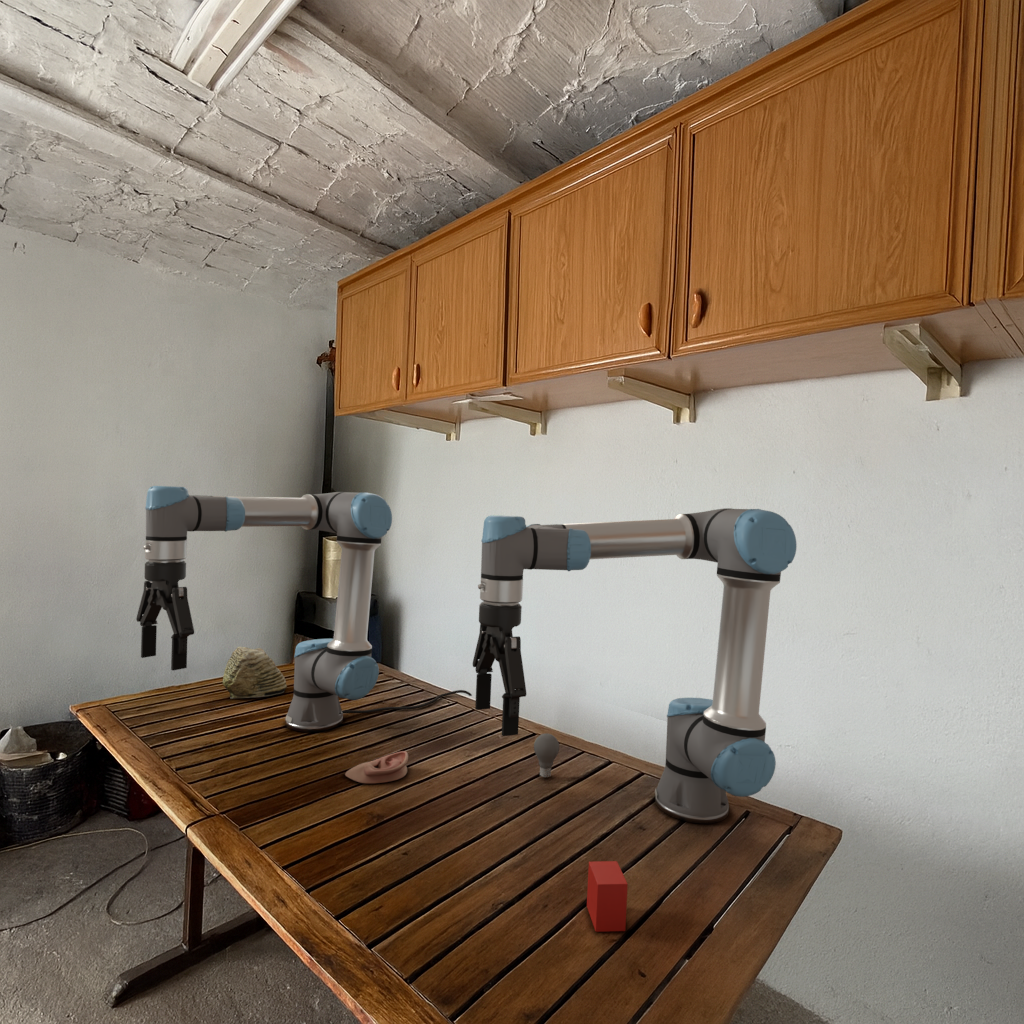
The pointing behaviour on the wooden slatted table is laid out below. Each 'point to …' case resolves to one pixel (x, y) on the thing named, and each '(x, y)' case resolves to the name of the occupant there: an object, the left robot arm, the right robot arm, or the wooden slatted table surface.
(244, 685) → the fossil
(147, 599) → the left robot arm
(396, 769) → the anatomical model
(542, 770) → the light bulb
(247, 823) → the wooden slatted table surface
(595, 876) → the block
